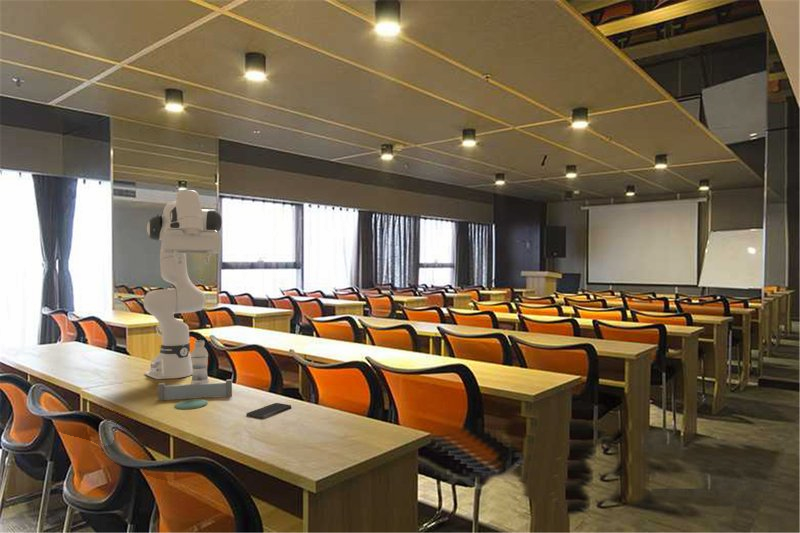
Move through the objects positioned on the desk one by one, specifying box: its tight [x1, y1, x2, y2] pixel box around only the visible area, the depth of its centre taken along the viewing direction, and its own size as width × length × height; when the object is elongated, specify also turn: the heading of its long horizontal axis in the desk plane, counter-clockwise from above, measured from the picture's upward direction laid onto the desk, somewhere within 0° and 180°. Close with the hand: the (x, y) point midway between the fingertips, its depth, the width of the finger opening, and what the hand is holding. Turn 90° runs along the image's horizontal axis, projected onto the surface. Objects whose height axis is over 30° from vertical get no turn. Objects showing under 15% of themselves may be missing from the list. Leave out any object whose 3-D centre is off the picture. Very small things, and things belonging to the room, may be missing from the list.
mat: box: [174, 399, 208, 410], centre depth 184 cm, size 11×11×1 cm
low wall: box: [157, 378, 233, 401], centre depth 194 cm, size 26×2×6 cm, turn 103°
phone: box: [245, 402, 292, 420], centre depth 176 cm, size 8×1×15 cm
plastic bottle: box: [190, 339, 210, 384], centre depth 203 cm, size 6×7×20 cm
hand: (193, 263), depth 184 cm, fingers open, 8 cm apart
